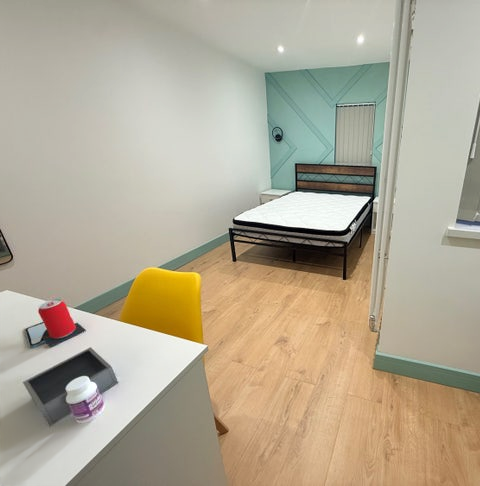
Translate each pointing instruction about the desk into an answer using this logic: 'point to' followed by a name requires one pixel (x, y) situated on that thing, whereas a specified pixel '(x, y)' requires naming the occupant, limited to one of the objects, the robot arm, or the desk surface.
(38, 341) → the smartphone
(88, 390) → the pill bottle
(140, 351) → the desk surface
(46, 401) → the basin
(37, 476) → the desk surface
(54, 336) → the beverage can
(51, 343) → the mat
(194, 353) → the desk surface
